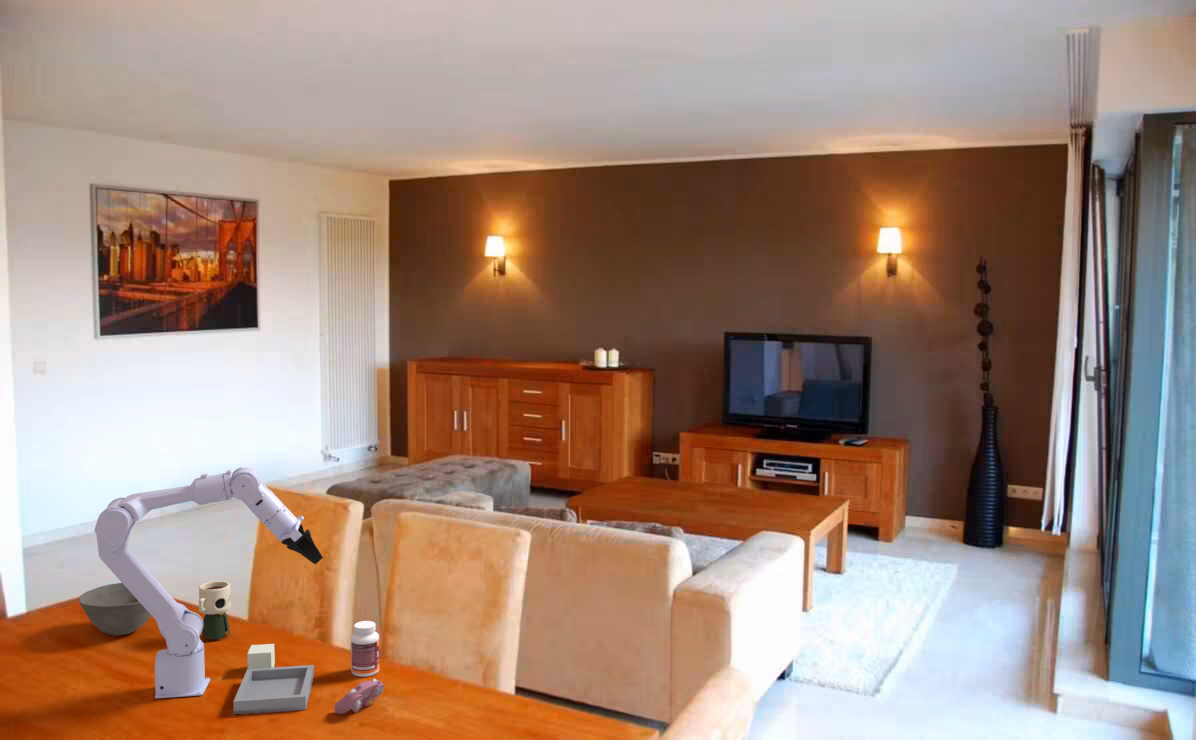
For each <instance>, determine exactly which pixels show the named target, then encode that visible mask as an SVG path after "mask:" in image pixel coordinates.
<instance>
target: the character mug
mask: <svg viewBox="0 0 1196 740" xmlns="http://www.w3.org/2000/svg"><path fill="white" fill-rule="evenodd" d="M231 593H232V592H231V583H229V582H228V581H225V580H217V581H216V580H213V581H208V582H205V583H202V584H200V585H199V586H198V611H199V613H201V614H203V615H204V616H203V619H202V620H203V629H202V632H201V637H202V638H206V639H209V640H218V639H222V638H225V637H226V632H227V636H229V635H230V634H231V633H230V626H229V624H230V623H229V619H228V614H227V612H228V611H230V609H231V605H232V601H231Z"/></svg>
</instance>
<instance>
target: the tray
mask: <svg viewBox="0 0 1196 740" xmlns="http://www.w3.org/2000/svg"><path fill="white" fill-rule="evenodd" d="M313 679H315V664H309V665H305V664H304V665H293V666H291V665H290V666H277V667H276V666H274V667H273V668H258V669H248V668H247V669H246V672H245V673H244V677H243V678H242V681H241V683H240V686H239V688H238V690H237V693H236V695H235V697H234V700H233V716H236V715H235V714H240V715H248V714H247V713H254V714H265V713H277V712H278V713H280V712H294V711H305V710H307V706H308V704H309V699H310V694H311V691H312V686H313V684H312V683H313V682H314V680H313ZM263 712H264V713H263ZM245 713H246V714H245Z"/></svg>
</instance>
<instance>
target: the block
mask: <svg viewBox="0 0 1196 740" xmlns="http://www.w3.org/2000/svg"><path fill="white" fill-rule="evenodd" d="M275 654H276V653H275V643H266V644H263V643H262V644H251V645H250V648H249V649H248V652H247V669H258V668H273V667H275V666H274V665H276V659H275V658H276V657H275V656H276V655H275Z"/></svg>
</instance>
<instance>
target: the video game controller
mask: <svg viewBox="0 0 1196 740" xmlns="http://www.w3.org/2000/svg"><path fill="white" fill-rule="evenodd" d="M385 686H386V685H385V684H384V683H382V682H381V681H379V680H377V679H376V678H373V679H372V680H364V681H362V682H359V683H358V684H357V685H356V687H354V688H352V689H350V691H348V692H347V693H346V694H345V695H344V696H343V697H342V698H341V699H340V700H338V701H337V702H336V703H335V705H334V707H333V708H334V713H336V714H337V715H343V714H345V713H348V712H349V711H350V710H352V711H353V713H358V712H359V711H360V710H361V709H362V708H363V705H364V706H365V707H369V706H371V705H372V704H373V703H374V701H375V700H376V698H378V697H379V696H380V695H381V694H382V693H383V692H384V689H385Z"/></svg>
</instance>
